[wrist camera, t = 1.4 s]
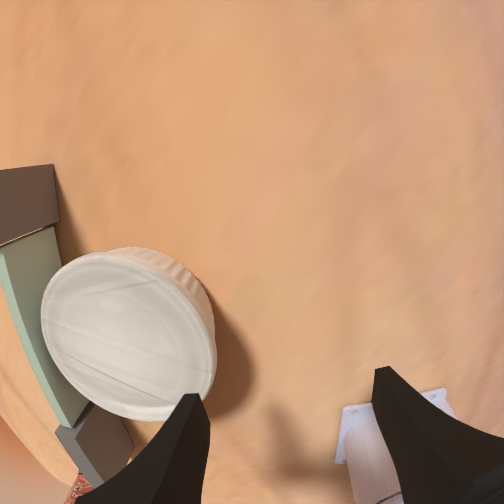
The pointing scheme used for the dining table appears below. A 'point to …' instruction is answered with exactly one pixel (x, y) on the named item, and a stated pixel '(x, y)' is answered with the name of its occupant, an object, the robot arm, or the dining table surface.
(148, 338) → the ramekin
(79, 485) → the lighter
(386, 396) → the robot arm
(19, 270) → the door
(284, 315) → the dining table surface
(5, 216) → the grey angled pieces
